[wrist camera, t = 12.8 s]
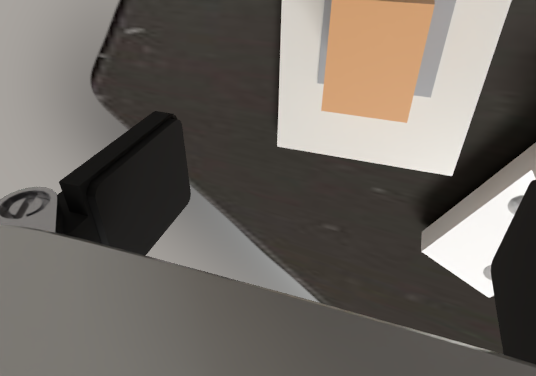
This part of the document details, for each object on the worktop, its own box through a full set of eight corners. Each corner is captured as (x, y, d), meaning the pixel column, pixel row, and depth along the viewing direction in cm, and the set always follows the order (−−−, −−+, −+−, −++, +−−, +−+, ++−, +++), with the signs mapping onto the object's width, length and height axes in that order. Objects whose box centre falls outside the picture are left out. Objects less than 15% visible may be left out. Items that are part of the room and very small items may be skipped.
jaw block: (352, -22, 25) (331, -3, 19) (432, -17, 24) (434, 4, 18) (341, 72, 28) (321, 110, 23) (410, 80, 27) (406, 122, 22)
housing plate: (293, -163, 23) (268, -178, 20) (562, -171, 20) (594, -191, 16) (282, 138, 35) (264, 166, 31) (451, 166, 31) (454, 201, 28)
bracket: (554, 119, 28) (589, 175, 22) (632, 176, 28) (687, 246, 22) (421, 225, 36) (420, 287, 30) (484, 268, 36) (495, 337, 30)
